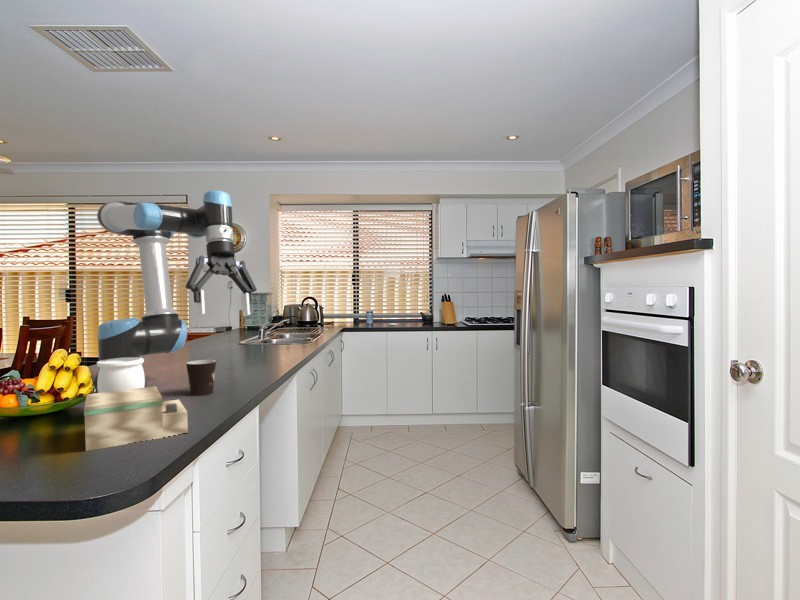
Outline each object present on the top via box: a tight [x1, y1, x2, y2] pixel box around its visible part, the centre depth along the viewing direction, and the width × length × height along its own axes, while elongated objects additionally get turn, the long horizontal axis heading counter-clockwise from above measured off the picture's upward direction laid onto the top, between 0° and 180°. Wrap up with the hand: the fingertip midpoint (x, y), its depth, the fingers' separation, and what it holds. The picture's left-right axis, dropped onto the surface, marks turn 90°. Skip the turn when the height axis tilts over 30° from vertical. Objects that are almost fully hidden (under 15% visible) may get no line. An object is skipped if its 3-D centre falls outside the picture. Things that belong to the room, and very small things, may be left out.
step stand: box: [83, 386, 189, 452], centre depth 102 cm, size 19×14×9 cm
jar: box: [96, 357, 146, 393], centre depth 115 cm, size 11×10×15 cm
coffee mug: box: [185, 359, 217, 397], centre depth 143 cm, size 12×9×10 cm
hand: (224, 315), depth 127 cm, fingers open, 13 cm apart
